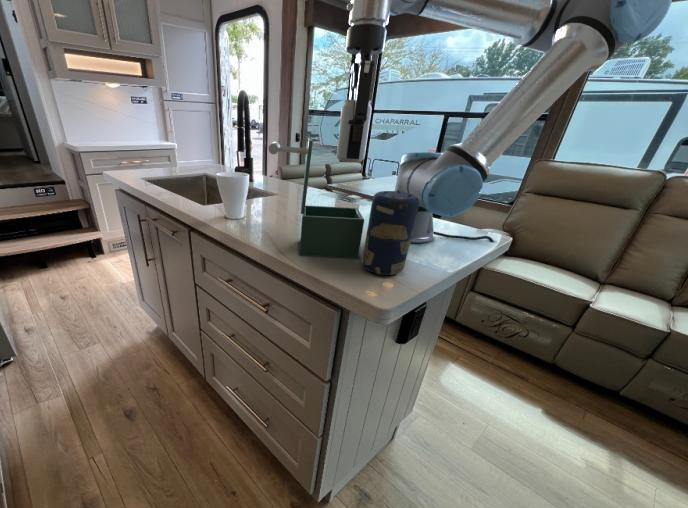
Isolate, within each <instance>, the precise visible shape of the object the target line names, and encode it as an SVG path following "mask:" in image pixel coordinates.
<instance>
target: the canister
mask: <svg viewBox="0 0 688 508" xmlns="http://www.w3.org/2000/svg"><path fill="white" fill-rule="evenodd" d="M418 207H419V198H418V197H417V196H415V195H413V194H409V193H405V192H400V190H399V189H397V190H396V191H395V190H383V191H382V190H381V191H377V192H375V193H374V194H373V196H372V201H371V206H370V211H369V216H368V217H369V218H368V224H367V230H366V235H365V240H364V246H363V252H362V259H361V260H362V261H361V264H362V266H363V268H364V269H366V270H367V271H369V272H370V273H373V274H377V275H381V276H383V275H384V276H393V275H394V276H395V275H398V274H400V273H401V272H403V270H404V268H405V265H406V261H407V257H408V253H409V250H410V245H411V244H412V243H411V237H412V233H413V228H414V224H415V220H416V216H417V211H418Z"/></svg>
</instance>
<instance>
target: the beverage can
mask: <svg viewBox="0 0 688 508" xmlns="http://www.w3.org/2000/svg"><path fill="white" fill-rule="evenodd" d="M353 103H354V100H349V99H344V100H343V104H342V106H341V109H340V119H339V121H340V122H339V129H338V139H337V147H336V159H338V161H339V162H343V163H362V161H363V160H365V157H366V151H367V143H368V136H369V130H370V124H371V123H370V122H371V118H372V117H371V116H372V109H373V108H372V105H371V103H372V100H369V102H368V110H367V119H366V121H365V123H364V127H363V134H362V141H361V148H360V155H359V159H347V158H346V156H347V148H348V139H349V131H350V125H354V124H348V121H349V120H352V114H353Z"/></svg>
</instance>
